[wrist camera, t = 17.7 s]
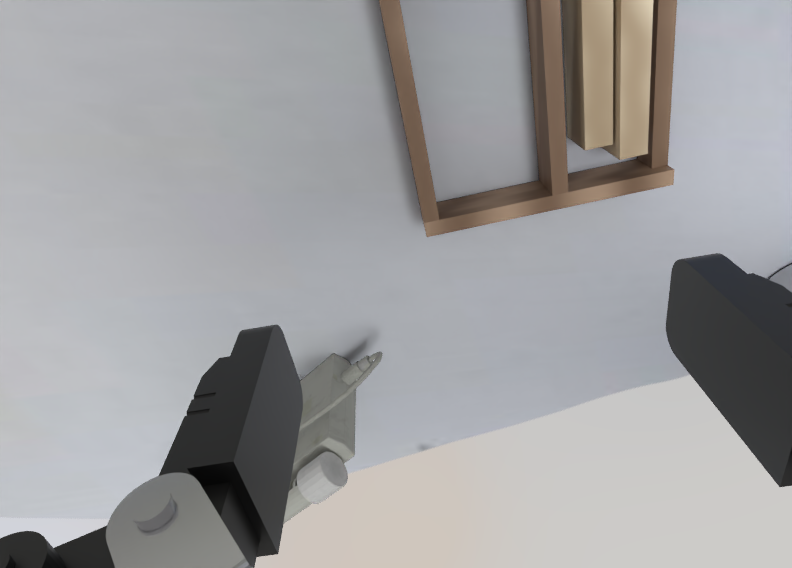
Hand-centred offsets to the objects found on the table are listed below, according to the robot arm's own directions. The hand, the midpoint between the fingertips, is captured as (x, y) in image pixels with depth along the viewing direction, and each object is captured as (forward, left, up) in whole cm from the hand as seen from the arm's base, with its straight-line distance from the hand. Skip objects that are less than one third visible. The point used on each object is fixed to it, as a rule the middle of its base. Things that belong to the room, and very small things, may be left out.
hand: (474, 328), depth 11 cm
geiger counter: (+17, +28, -32) cm, 45 cm away
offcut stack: (-14, +2, -32) cm, 35 cm away
